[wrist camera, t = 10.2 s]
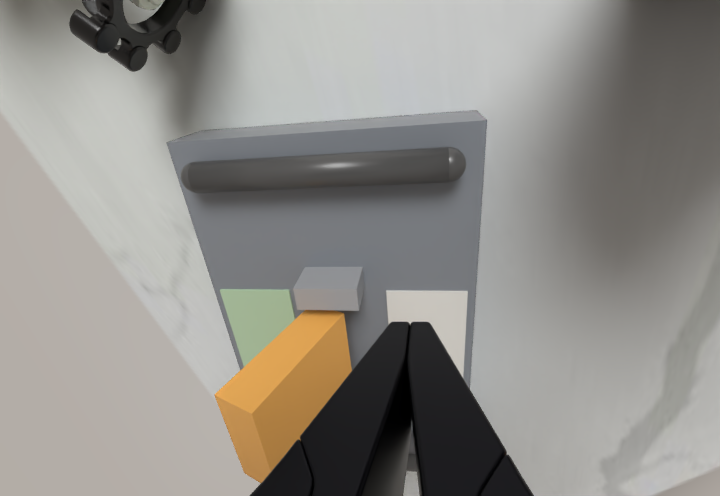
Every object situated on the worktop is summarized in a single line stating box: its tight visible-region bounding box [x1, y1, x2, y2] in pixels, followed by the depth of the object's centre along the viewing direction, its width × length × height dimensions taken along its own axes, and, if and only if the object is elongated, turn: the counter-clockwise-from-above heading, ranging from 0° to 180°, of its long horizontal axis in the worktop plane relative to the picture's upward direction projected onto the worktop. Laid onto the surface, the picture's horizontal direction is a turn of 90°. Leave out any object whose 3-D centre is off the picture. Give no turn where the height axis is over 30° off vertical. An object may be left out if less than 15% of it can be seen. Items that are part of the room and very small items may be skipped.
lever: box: [215, 310, 352, 483], centre depth 17 cm, size 2×5×6 cm, turn 4°
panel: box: [167, 110, 487, 472], centre depth 21 cm, size 14×22×5 cm, turn 5°
